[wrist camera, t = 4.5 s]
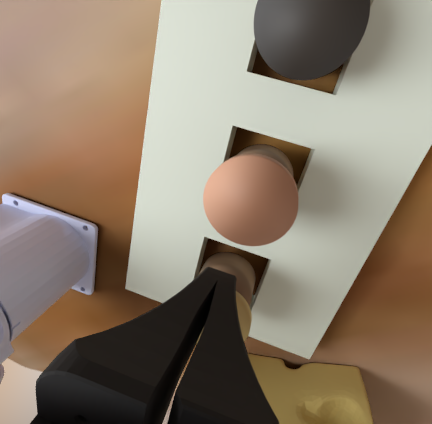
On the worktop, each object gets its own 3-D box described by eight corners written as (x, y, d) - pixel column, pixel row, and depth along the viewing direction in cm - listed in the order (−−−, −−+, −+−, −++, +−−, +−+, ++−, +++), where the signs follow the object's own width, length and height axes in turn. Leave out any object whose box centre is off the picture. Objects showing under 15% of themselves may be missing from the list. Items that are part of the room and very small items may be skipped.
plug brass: (193, 288, 23) (170, 333, 19) (206, 239, 21) (183, 278, 17) (249, 308, 23) (238, 360, 19) (267, 261, 21) (259, 307, 17)
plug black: (255, 69, 18) (241, 65, 14) (279, -24, 16) (272, -63, 12) (330, 89, 17) (341, 92, 13) (366, -5, 15) (392, -38, 11)
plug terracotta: (217, 197, 20) (195, 229, 16) (234, 129, 18) (214, 144, 14) (284, 219, 19) (279, 258, 15) (310, 151, 17) (313, 174, 13)
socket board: (136, 275, 27) (125, 288, 25) (192, -108, 16) (178, -132, 14) (308, 340, 25) (309, 359, 23) (517, -46, 14) (550, -65, 12)
